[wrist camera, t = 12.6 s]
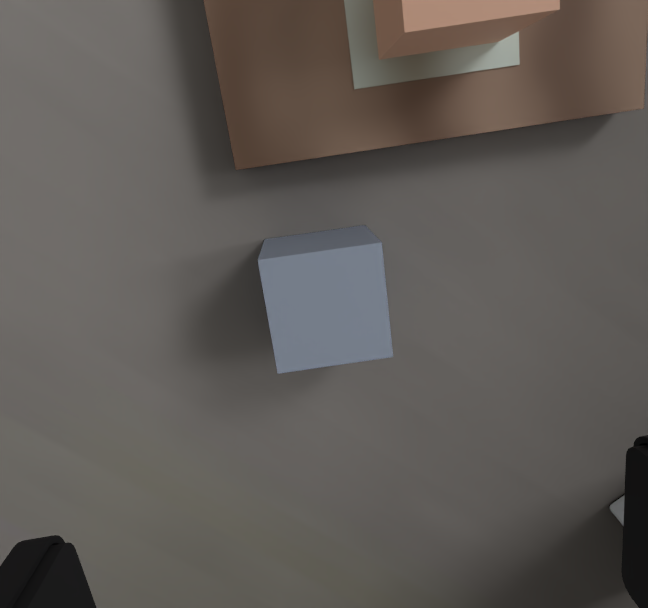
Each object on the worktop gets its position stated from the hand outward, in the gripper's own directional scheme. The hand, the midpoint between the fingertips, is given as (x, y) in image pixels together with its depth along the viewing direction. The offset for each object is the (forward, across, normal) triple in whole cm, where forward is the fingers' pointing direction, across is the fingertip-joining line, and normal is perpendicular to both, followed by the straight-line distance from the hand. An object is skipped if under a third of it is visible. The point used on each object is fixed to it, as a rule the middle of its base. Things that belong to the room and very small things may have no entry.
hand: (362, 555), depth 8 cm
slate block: (+18, 0, 0) cm, 18 cm away
